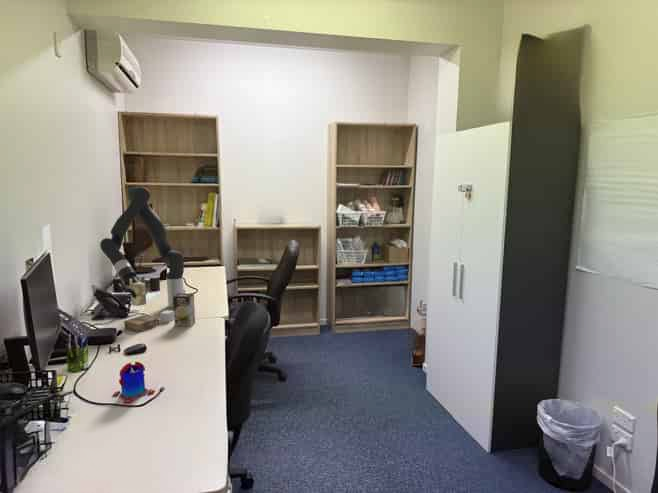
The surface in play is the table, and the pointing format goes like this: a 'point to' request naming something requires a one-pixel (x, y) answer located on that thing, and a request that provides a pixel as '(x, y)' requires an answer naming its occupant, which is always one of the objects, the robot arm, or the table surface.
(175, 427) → the table surface
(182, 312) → the coffee box
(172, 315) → the grey block
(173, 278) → the robot arm
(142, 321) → the walnut block
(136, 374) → the fantasy tower
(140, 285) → the oak block
